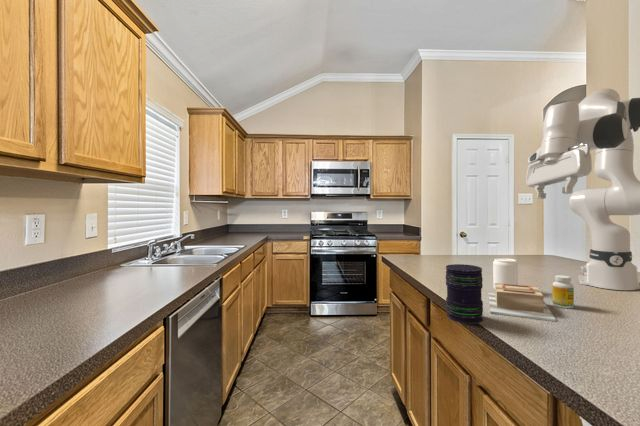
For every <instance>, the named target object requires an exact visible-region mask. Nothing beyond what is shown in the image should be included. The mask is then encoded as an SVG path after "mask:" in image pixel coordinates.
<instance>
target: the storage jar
mask: <svg viewBox="0 0 640 426" xmlns="http://www.w3.org/2000/svg"><path fill="white" fill-rule="evenodd" d="M445 270H446V271H445V286H446V295H447V296H446V298H445V302H446V303H445V307H446V318H448V319H449V320H451V321H453V322H456V323H461V324H468V325H474V324H480V323H482V322H483V319H484V318H483V313H484V307H483V306H484V303H483V300H482V288H483V287H484V286H483V280H484V279H483V273H482V272H483V268H482V267H481V266H477V265H472V264H461V263H460V264H458V263H457V264H456V263H455V264H448V265H446V266H445Z"/></svg>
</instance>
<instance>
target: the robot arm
mask: <svg viewBox="0 0 640 426" xmlns="http://www.w3.org/2000/svg"><path fill="white" fill-rule="evenodd" d="M639 129H640V97H633V98H631V99H623V100H621V97H620V94H619V93H618V91H617V90H615V89H612V88H601V89H600V88H599V89H598V90H595V91H593V92H591V93H590V94H588V95H587V96H585V97H584V98H583V99H581V101H580V102H577V101H574V100H567V101H566V100H565V101H564V100H563V101H560V102H557V103H553V104H551V105H550V106H549V107H548V108H547V110H546V112H545V116H544V119H543V125H542V135H543V138H542V140H541V143H540V147H539V148H537V150H536V151H535V152H534V153H532V154H531V155H530V156H529V157H528V158H527V163H528V164H529V165H528V166H527V170H526V175H525V176H526V177H525V184H526V186H527V187H528V188H534V190H535V192H536V198H537V199H538V200H545V199H546V198H547V193H545V191H544V190H545V187H546V186H550V185H555V184H557V183H562V182H565V181H566V183H565V186H563V187H562V192H561V193H562V194H563V195H570V196H569V199H568V206H569V208H570V210H571V211H572V212H573V213H575V214H576V215H578V216H579V217H580V218H581V219H582V220H584V222H585V223H586V225H587V226H588V230H589V232H590V233H589V234H590V240H591V241H590V243H591V246H590V247H591V249H590V250H589V259H588V261H587V262H586V263H585V265H583V266H582V265H581V266H580V272H581V273H582V274H579V275H577V276H578V282H579V285H580V284H581V285H583V286H584V285H586V286H591V287H595V288H599V289H605V290H606V289H607V290H615V291H635V290H636V291H637V290H640V283H639V272H638V267H637V266H636V265H635V264H634V263H632V261H633V254H632V251H631V233H630V231H629V230H628V229H627V228H626V227H624V226H622V225H619V224H617V223H615V222H613V221H612V220H611V218H610V216H639V215H640V180H639V179H638V177H636V175H635V171H634V154H635V153H634V152H635V151H634V150H635V149H634V148H635V147H634V137H633V133H632V130H633V132H634V133H635V132H638V130H639ZM593 150H595V154H594V164H593V162H592V154H591V151H593ZM592 164H593V165H592ZM592 168H593V173H594V175H595V176H596V177H598V178H599V179H602V180H605V181H609V182H611V186H610V187H595V188H585V189H579V190H576V191H573V189H574V187H575V185H577V182H578V180H579V179H578V178H582V177H585V176H589V175H590V174H591V172H592Z"/></svg>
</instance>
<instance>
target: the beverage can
mask: <svg viewBox="0 0 640 426" xmlns="http://www.w3.org/2000/svg"><path fill="white" fill-rule="evenodd" d="M492 271H493V273H492V274H493V276H492V280H493V282H492V283H493V284H492V285H493V288H492V289H494V290H495V283H500V284H512V285H519V263H518V262H517V260H516V259H513V258H503V257H502V258H501V257H499V258H494V260H493V261H492Z"/></svg>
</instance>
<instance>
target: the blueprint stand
mask: <svg viewBox="0 0 640 426" xmlns="http://www.w3.org/2000/svg"><path fill="white" fill-rule="evenodd" d="M494 290H495V291H494V293H493V292H488V294H487V295H488V302H489V303H488V304H489V310H490V311H489V312H490V314H492V315H493V314H494V315H500V316H509V317H515V318H516V317H517V318H525V319H531V320H533V319H534V320H542V321H549V322H556V318H555V316H554V315H553V313H552V311H551V310H550V309H549V307H548V306H547V304H546V303H545V301H544V295H543V293H542V291H540V289H539V288H538V287H537V286H535V285H524V284H518V285H512V284H500V283H495V289H494Z"/></svg>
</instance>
